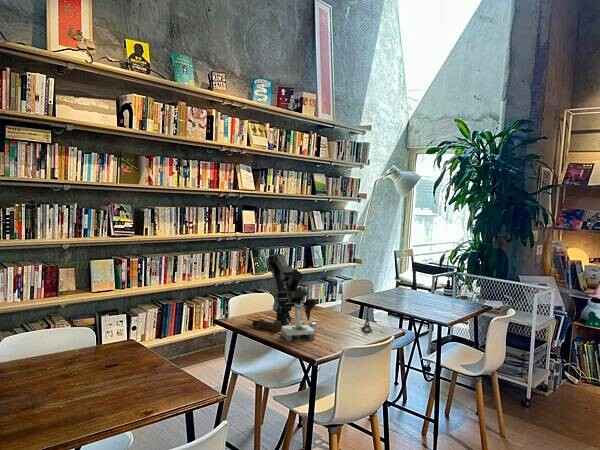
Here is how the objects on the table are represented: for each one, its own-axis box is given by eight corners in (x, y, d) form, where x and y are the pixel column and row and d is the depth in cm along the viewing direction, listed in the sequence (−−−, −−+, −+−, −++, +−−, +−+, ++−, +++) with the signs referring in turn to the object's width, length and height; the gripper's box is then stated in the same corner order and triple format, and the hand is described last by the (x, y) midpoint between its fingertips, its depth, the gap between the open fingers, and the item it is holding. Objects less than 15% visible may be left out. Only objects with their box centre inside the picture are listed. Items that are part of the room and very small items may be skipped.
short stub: (306, 331, 214) (306, 321, 214) (315, 331, 216) (315, 321, 215) (309, 334, 210) (309, 324, 210) (318, 333, 211) (318, 324, 211)
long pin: (293, 335, 208) (295, 302, 207) (303, 335, 207) (304, 303, 206) (292, 337, 203) (293, 304, 203) (301, 338, 203) (303, 305, 202)
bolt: (254, 330, 220) (280, 334, 213) (249, 327, 216) (275, 331, 209) (257, 319, 222) (283, 322, 215) (252, 316, 218) (278, 319, 211)
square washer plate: (281, 334, 208) (281, 326, 208) (307, 332, 212) (307, 324, 212) (287, 341, 199) (287, 332, 198) (314, 339, 203) (314, 330, 202)
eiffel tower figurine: (386, 334, 217) (387, 307, 216) (373, 337, 210) (374, 310, 210) (362, 326, 228) (363, 301, 228) (349, 330, 221) (350, 304, 221)
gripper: (278, 283, 204) (284, 312, 195) (315, 282, 211) (323, 310, 201) (272, 296, 212) (278, 325, 203) (308, 295, 219) (316, 322, 209)
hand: (299, 320), depth 204 cm, fingers open, 9 cm apart
